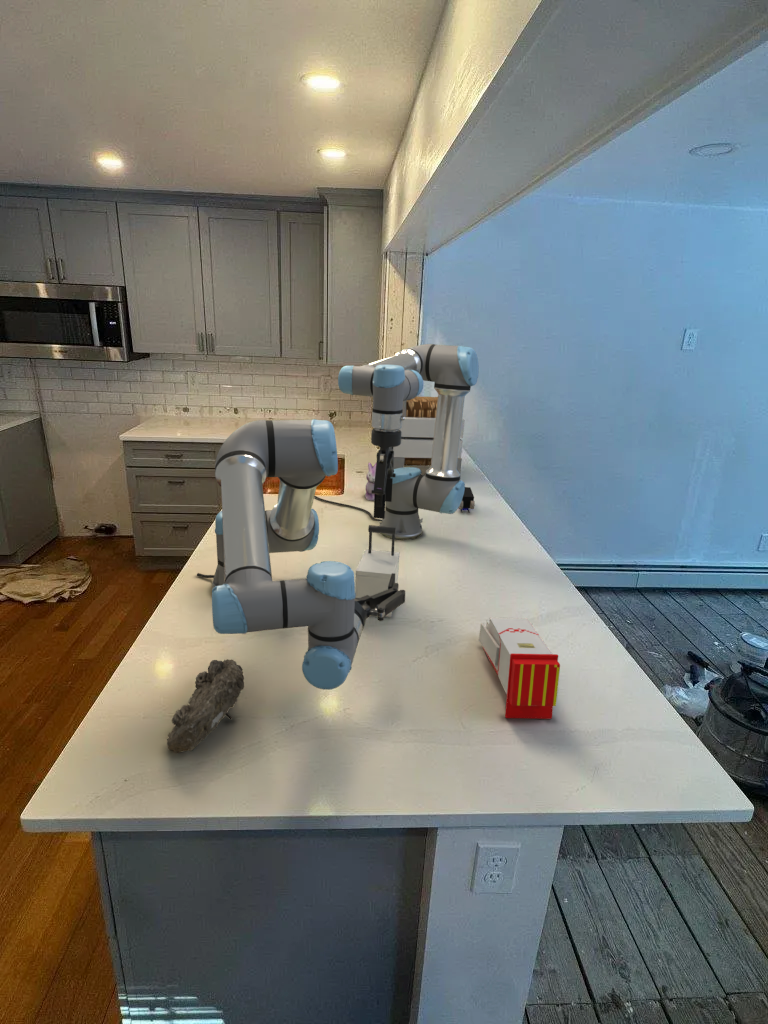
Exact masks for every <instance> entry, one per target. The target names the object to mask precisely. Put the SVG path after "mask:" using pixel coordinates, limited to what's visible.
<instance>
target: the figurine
mask: <svg viewBox="0 0 768 1024" xmlns="http://www.w3.org/2000/svg"><path fill="white" fill-rule="evenodd" d="M376 463H377V461H376V462H375V463H374V465H372V463H371V462H368V463H367V468H368V469H367V473H366V475H365V478H366V480H367V482H366V484H365V494H364V498H365V499H366V500H367V501H374V495H375V494H372V490H374V482H375V473H376ZM378 489H381V488H378Z"/></svg>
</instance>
